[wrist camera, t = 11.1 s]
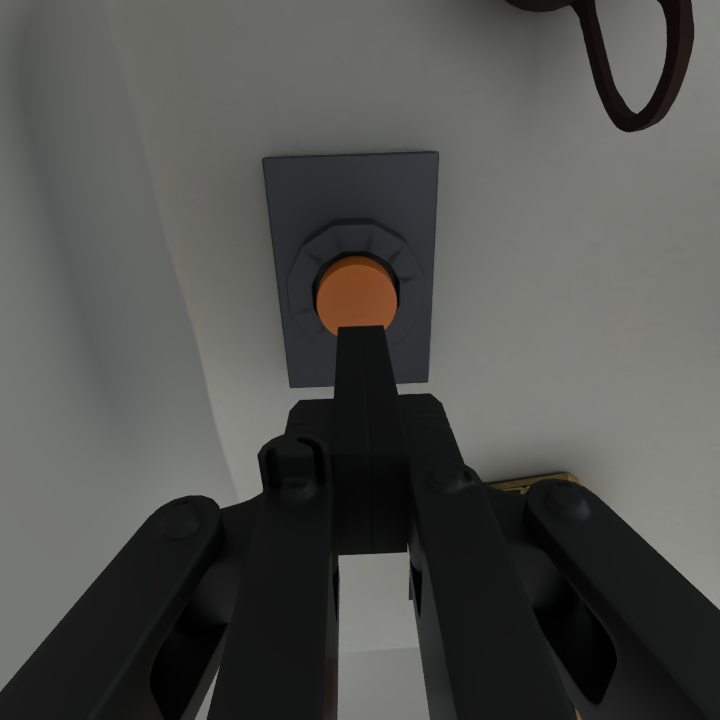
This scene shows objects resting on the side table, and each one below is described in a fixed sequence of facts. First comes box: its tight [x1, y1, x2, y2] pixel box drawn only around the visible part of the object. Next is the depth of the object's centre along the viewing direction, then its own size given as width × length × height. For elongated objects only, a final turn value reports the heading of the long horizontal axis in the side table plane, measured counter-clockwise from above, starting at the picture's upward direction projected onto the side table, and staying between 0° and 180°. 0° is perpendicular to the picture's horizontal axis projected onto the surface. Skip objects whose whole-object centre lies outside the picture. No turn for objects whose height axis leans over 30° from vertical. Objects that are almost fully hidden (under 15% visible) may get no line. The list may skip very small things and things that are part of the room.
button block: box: [262, 151, 439, 388], centre depth 22 cm, size 12×8×4 cm, turn 2°
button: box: [317, 256, 397, 336], centre depth 20 cm, size 4×4×2 cm
